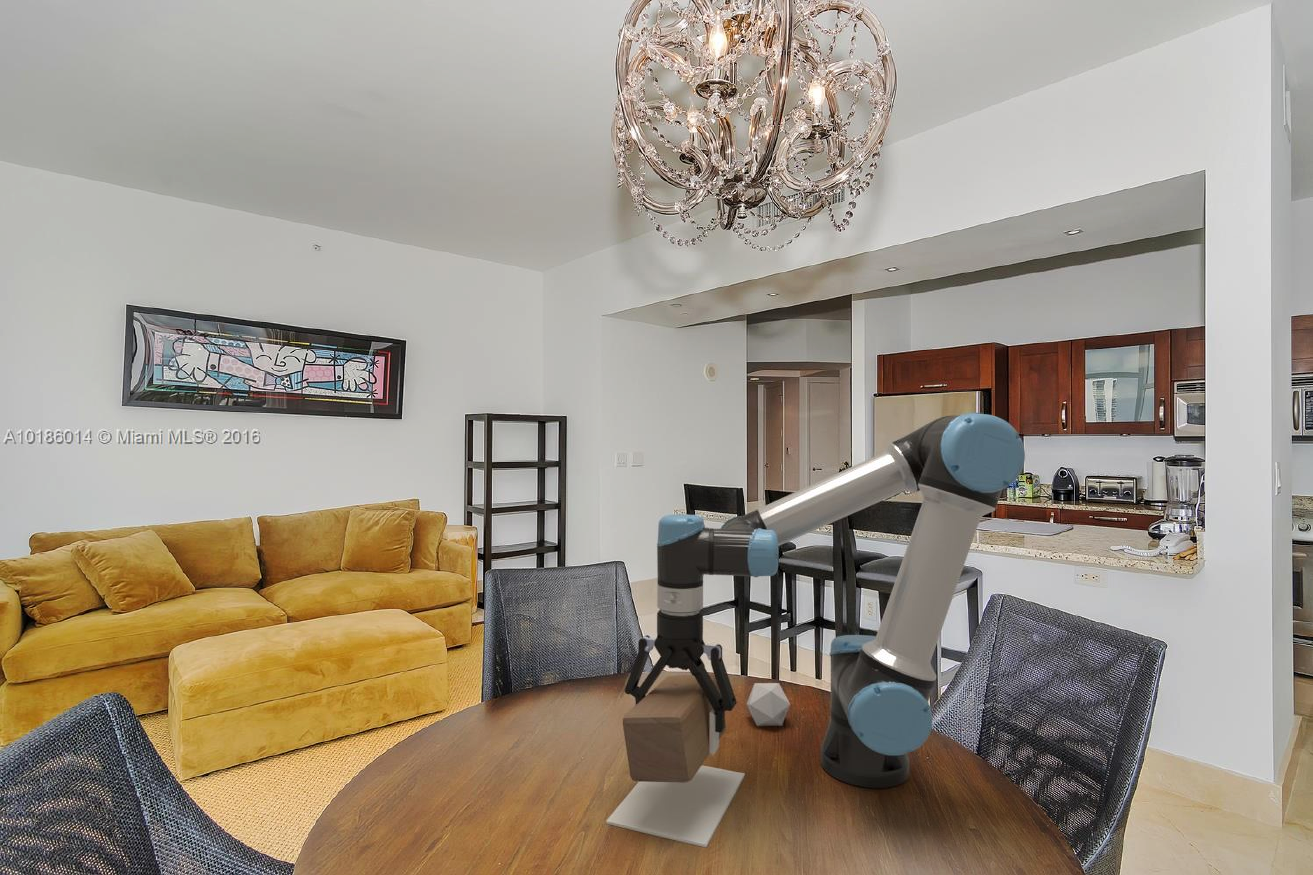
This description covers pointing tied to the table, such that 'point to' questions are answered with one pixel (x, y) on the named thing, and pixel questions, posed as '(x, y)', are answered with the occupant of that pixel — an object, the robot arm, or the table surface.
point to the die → (768, 704)
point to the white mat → (679, 806)
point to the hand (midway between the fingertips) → (679, 744)
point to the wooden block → (669, 731)
